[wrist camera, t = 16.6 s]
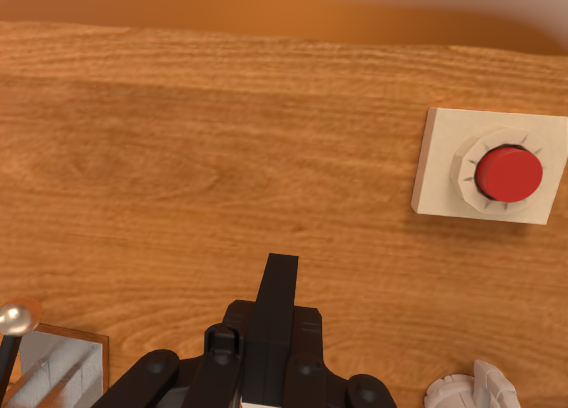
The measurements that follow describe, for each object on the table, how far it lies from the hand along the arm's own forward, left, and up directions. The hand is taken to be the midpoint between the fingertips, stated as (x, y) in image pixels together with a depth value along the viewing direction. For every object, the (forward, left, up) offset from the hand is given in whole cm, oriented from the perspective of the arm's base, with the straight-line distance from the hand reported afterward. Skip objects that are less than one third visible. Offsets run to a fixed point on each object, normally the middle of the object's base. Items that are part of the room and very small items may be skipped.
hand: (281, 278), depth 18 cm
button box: (+11, +13, -16) cm, 23 cm away
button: (+11, +13, -13) cm, 21 cm away
